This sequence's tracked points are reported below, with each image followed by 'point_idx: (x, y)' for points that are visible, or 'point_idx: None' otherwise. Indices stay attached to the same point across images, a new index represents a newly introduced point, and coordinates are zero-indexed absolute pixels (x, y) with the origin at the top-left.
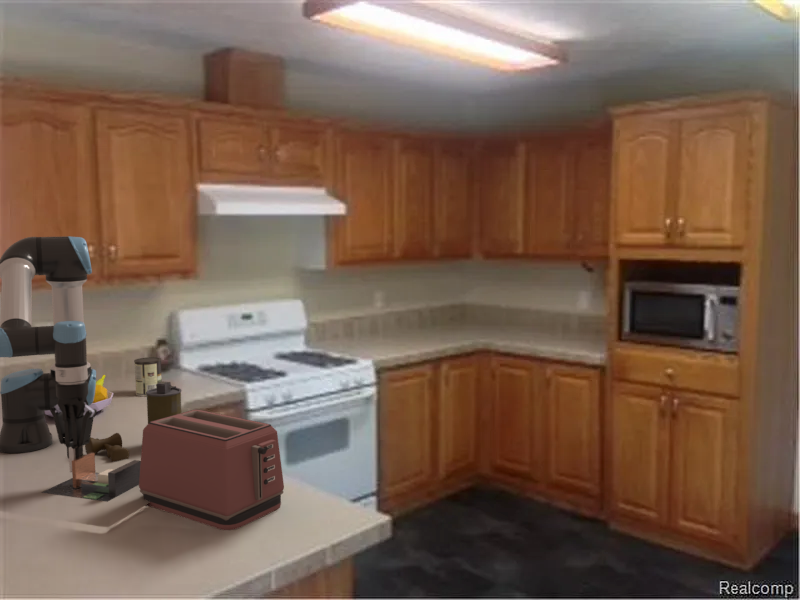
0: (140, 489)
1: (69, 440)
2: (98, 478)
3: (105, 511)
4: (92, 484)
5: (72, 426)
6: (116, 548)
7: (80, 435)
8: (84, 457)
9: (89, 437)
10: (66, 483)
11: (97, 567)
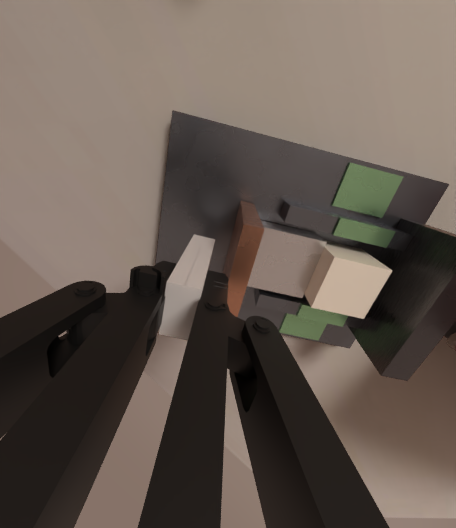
0: (453, 346)
1: (145, 361)
2: (308, 299)
3: (347, 360)
4: (295, 313)
5: (93, 450)
6: (402, 458)
7: (246, 434)
8: (244, 293)
9: (289, 362)
10: (176, 242)
11: (386, 488)
